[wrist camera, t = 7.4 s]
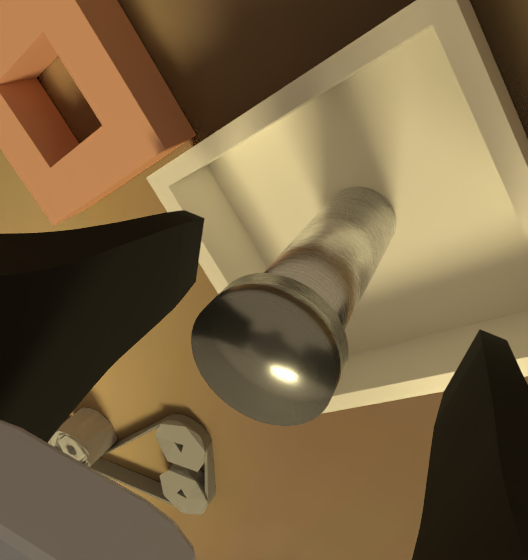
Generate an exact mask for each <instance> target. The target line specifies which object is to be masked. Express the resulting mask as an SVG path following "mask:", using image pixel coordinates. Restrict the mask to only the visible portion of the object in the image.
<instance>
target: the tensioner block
mask: <svg viewBox="0 0 528 560" xmlns="http://www.w3.org/2000/svg"><path fill="white" fill-rule="evenodd" d="M57 56H59V57H60V59H61V61H62V62H63V64H64V65H65V67H66V69H67V70H68V72H69V73H70V75H71V77H72V78H73V80H74V81H75V83H76V84H77V86H78V88H79V89H80V91H81V92H82V94H83V96H84V97H85V99H86V100H87V102H88V104H89V105H90V107H91V108H92V110H93V112H94V113H95V115H96V116H97V118H98V119H99V121H100V123H101V124H102V126H101V127H100V128H99V129H97V130H96V131H95V132H94V133H93V134H91V135H90V136H89V137H88V138H86V139H85V140H84V141H83V142H82V143H80V144H79V142H78V141H77V139H76V138H75V136H74V135H73V133H72V132H71V130H70V128H69V127H68V125H67V124H66V122H65V121H64V119H63V118H62V116H61V115H60V113H59V111H58V110H57V108H56V107H55V105H54V104H53V102H52V101H51V99H50V98H49V96H48V94H47V93H46V91H45V90H44V88H43V87H42V85H41V84H40V82H39V80H38V79H37V77H38V76H39V75H40V74H41V73H42V72H43V71H44V70H45V69H46V68H47V67H48V66H49V65H50V63H51V62H52V61H53V60H54V59H55V58H56V57H57ZM194 136H196V134H195V132H194V130H193V129H192V127H191V125H190V124H189V122H188V120H187V118H186V117H185V115H184V113H183V112H182V110H181V108H180V106H179V105H178V103H177V101H176V100H175V98H174V96H173V95H172V93H171V91H170V89H169V88H168V86H167V84H166V83H165V81H164V79H163V77H162V76H161V74H160V72H159V71H158V69H157V67H156V65H155V64H154V62H153V60H152V59H151V57H150V55H149V53H148V52H147V50H146V48H145V47H144V45H143V43H142V42H141V40H140V38H139V36H138V35H137V33H136V31H135V30H134V28H133V26H132V24H131V23H130V21H129V19H128V18H127V16H126V14H125V12H124V11H123V9H122V7H121V6H120V4H119V2H118V0H0V149H1V151H2V152H3V154H4V155H5V156H6V158H7V159H8V161H9V162H10V164H11V165H12V167H13V168H14V170H15V171H16V172H17V174H18V175H19V177H20V178H21V180H22V181H23V183H24V184H25V186H26V187H27V188H28V190H29V191H30V193H31V194H32V196H33V197H34V199H35V200H36V202H37V203H38V204H39V206H40V207H41V209H42V210H43V212H44V213H45V215H46V216H47V218H48V219H49V220H50V222H51V223H52V225H53V226H54V225H56V224H58V223H60V222H62V221H64V220H66V219H68V218H70V217H72V216H74V215H76V214H78V213H80V212H82V211H84V210H86V209H87V208H89V207H90V206H92V205H93V204H95V203H96V202H98V201H99V200H101V199H102V198H104V197H105V196H107V195H108V194H110V193H111V192H113V191H114V190H116V189H117V188H119V187H120V186H122V185H123V184H125V183H126V182H127V181H129V180H130V179H132V178H133V177H135V176H136V175H138V174H139V173H141V172H142V171H144V170H145V169H147V168H148V167H150V166H151V165H153V164H154V163H156V162H157V161H159V160H160V159H162V158H163V157H165V156H166V155H168V154H169V153H171V152H172V151H174V150H175V149H177V148H178V147H180V146H181V145H182V144H184V143H185V142H187V141H188V140H190V139H191V138H193V137H194Z"/></svg>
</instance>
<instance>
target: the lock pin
mask: <svg viewBox="0 0 528 560" xmlns="http://www.w3.org/2000/svg"><path fill="white" fill-rule="evenodd" d="M395 231H396V216H395V212H394V210H393V208H392V206H391V204H390V203H389V201H388V200H387V199H386V198H385V197H384V196H383V195H381V194H380V193H378V192H377V191H375V190H373V189H370V188H367V187H357V186H356V187H349V188H346V189H343V190H341V191H340V192H338V193H337V194H335V195H334V196H333V197H332V198H331V200H330V201H329V202H328V203H327V204H326V205H325V206H324V207H323V208H322V209H321V210H320V212H319V213H318V214H317V215H316V216H315V217H314V218H313V219H312V220H311V221H310V222H309V224H308V225H307V226H306V227H305V228H304V229H303V230H302V231H301V232H300V233H299V235H298V236H297V237H296V238H295V239H294V240H293V241H292V242H291V243H290V244H289V245H288V247H287V248H286V249H285V250H284V251H283V252H282V253H281V254H280V255H279V256H278V257H277V259H276V260H275V261H274V262H273V263H272V264H271V265H270V266H269V267H268V268H267V269H266V271H265V272H264V273H254V274H248V275H245V276H242V277H240V278H238V279H236V280H234V281H233V282H231V283H230V284H228V285H227V286H226V287H225V288H224V289H223V290H222V291H221V292H220V293H219V294H218V295H217V296H216V297H215V298H214V299H213V300H212V301H211V302H210V303H209V304H208V305H207V306H206V307H205V308H204V309H203V311H202V312H201V313H200V314H199V316H198V317H197V319H196V321H195V323H194V326H193V330H192V336H191V344H192V352H193V356H194V359H195V362H196V365H197V367H198V369H199V371H200V373H201V375H202V376H203V378H204V380H205V381H206V382H207V384H208V385H209V387H210V388H211V389H212V390H213V391H214V392H215V393H216V394H217V395H218V396H219V397H220V398H221V399H222V400H223V401H224V402H225V403H227V404H228V405H229V406H231V407H232V408H234V409H235V410H237V411H238V412H240V413H242V414H243V415H245V416H247V417H250V418H252V419H254V420H257V421H260V422H263V423H267V424H271V425H279V426H292V425H299V424H303V423H306V422H308V421H311V420H313V419H314V418H316V417H317V416H319V415H320V414H321V413H322V412H323V411H324V410H325V409H326V407H327V406H328V404H329V402H330V400H331V398H332V396H333V394H334V392H335V390H336V388H337V385H338V383H339V381H340V379H341V377H342V375H343V373H344V371H345V368H346V365H347V362H348V354H349V350H348V341H347V336H346V333H345V328H346V326H347V324H348V322H349V320H350V318H351V317H352V315H353V313H354V311H355V309H356V307H357V305H358V303H359V301H360V299H361V298H362V296H363V294H364V292H365V290H366V288H367V286H368V284H369V282H370V280H371V278H372V277H373V275H374V273H375V271H376V269H377V267H378V265H379V263H380V261H381V259H382V257H383V256H384V254H385V252H386V250H387V248H388V246H389V244H390V242H391V240H392V238H393V236H394V234H395Z"/></svg>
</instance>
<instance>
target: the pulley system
mask: <svg viewBox="0 0 528 560" xmlns="http://www.w3.org/2000/svg"><path fill="white" fill-rule="evenodd" d="M158 427H159V428H158ZM156 428H158V430H157V432H156V434H155V436H156V438H157V441H158V443H159V445H160V447H161V449H162V451H163V453H164V455H165V457H166V459H167V461H168V462H171V463H174V464H173V465H172V466H171V467H170V468H169V470H168V471H166V472H165V473H163V474H161V475H160V480H161V483H160V482H157V481H155V480H152V479H150V478H148V477H145V476H143V475H140V474H138V473H136V472H133V471H131V470H129V469H126V468H124V467H121V466H119V465H117V464H114V463H112V462H109V461H107V460H105V459H102V458H100V457H101V456H102V455H104V454H106V453H108V452H110V451H112V450H114V449H116V448H118V447H120V446H122V445H124V444H126V443H128V442H130V441H132V440H134V439H136V438H138V437H140V436H142V435H144V434H146V433H148V432H150V431H152V430H154V429H156ZM117 440H118V439H117V436H116V433H115V431H114V428H113V426H112V424H111V423H110V422H109V421H108V420H107V419H106V418H105V417H104V416H103V415H101V414H100V413H99V412H98V411H96V410H94V409H91V408H85V407H83V408H81V409H79V410H78V411H77V412H76V413H75V414H74V415H73V416H71V417H70V418H69V419H68V418H67V419H66V420H65V421H64V422H63V423H62V425H61V426H60V427H59V429H58V430H57V431H56V433H55V434H54V435H53V436H52V438H51V439H50V440H49V442H48V443H49V444H50V445H52V446H54V447H56V448H57V449H59V450H61V451H63V452H64V453H66V454H68V455H69V456H71V457H73V458H75V459H76V460H78V461H80V462H82V463H83V464H85V465H87V466H89V467H90V468H92V469H94V470H96V471H97V472H99V473H101V474H103V475H105V476H107V477H110V478H112V479H114V480H116V481H119V482H121V483H123V484H125V485H128V486H130V487H132V488H135V489H137V490H139V491H141V492H144V493H146V494H148V495H150V496H153V497H155V498H157V499H159V500H162V501H164V502H166V503H169V504H171V505H173V506H175V507H176V508H177V509H178V510H179V511H180V512H181V513H186V514H201V515H203V513H204V511H205V510H206V508H207V507H208V505H209V504H210V502H211V501H212V499H213V498H214V496H215V494H216V485H215V473H214V460H213V448H212V441H211V438H210V435H209V434H208V432H207V431H206V430H205V429H204V428H203V427H202V426H201V425H200V424H199V423H198V422H196V421H195V420H193V419H192V418H190V417H187V416H184V415H181V414H173V415H169V416H167V417H165V418H163V419H161V420H159V421H157V422H156V423H154V424H152V425H150V426H148V427H146V428H144V429H142V430H140V431H138V432H136V433H134V434H132V435H130V436H128V437H126V438H124V439H122V440H120V441H118V442H116V441H117ZM115 442H116V443H115ZM204 460H205V474H204V473H203V472H202V471H201V470H200V468H201V466H202V465H203V463H204Z"/></svg>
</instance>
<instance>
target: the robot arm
mask: <svg viewBox="0 0 528 560" xmlns="http://www.w3.org/2000/svg"><path fill="white" fill-rule="evenodd" d="M204 219H205V218H203V217H200V216H198V215H195V214H193V213H190V212H188V211H185V210H181V211H173V212H167V213H162V214H157V215H152V216H147V217H142V218H137V219H132V220H127V221H122V222H117V223H112V224H105V225H99V226H93V227H87V228H81V229H74V230H65V231H55V232H43V233H20V234H0V560H196V557H195V552H194V549H193V546H192V544H191V543H190V542H189V540H188V539H187V538H186V536H185V535H184V533H183V532H182V531H181V529H180V528H179V527H178V525H177V524H176V523H175V521H173V520H172V519H171V518H170V517H168V516H167V515H166V514H164V513H163V512H162V511H160V510H159V509H158V508H157V507H155V506H154V505H153V504H151V503H150V502H149V501H147V500H146V499H144V498H142V497H141V496H139V495H137V494H135V493H134V492H132V491H130V490H128V489H127V488H125V487H123V486H122V485H120V484H118V483H116V482H115V481H113V480H111V479H109V478H108V477H106V476H104V475H102V474H101V473H99V472H97V471H96V470H94V469H92V468H90V467H89V466H87V465H85V464H83V463H82V462H80V461H78V460H76V459H75V458H73V457H71V456H69V455H68V454H66V453H64V452H63V451H61V450H59V449H57V448H56V447H54V446H52V445H50V444H49V443H48V442H49V440H50V439H51V438H52V436H53V435H54V434H55V433H56V431H57V430H58V429H59V427H60V426H61V425H62V423H63V422H64V421H65V420H66V419H67V417H68V416H69V415H70V414H71V413H72V411H73V410H74V409H75V408H76V406H77V405H78V404H79V403H80V402H81V400H82V399H83V398H84V397H85V396H86V394H87V393H88V392H89V391H90V390H91V389H92V388H93V386H94V385H95V384H96V383H97V382H98V381H99V380H100V378H101V377H102V376H103V375H104V374H105V373H106V372H107V370H108V369H109V368H110V367H111V366H112V365H113V364H114V363H115V362H116V361H117V360H118V359H119V358H120V357H121V356H122V355H124V354H125V353H126V352H127V351H128V350H129V349H130V348H131V347H132V346H133V345H135V344H136V343H137V342H138V341H139V340H140V339H141V338H142V337H143V336H144V335H146V334H147V333H148V332H149V331H150V330H151V329H152V328H153V327H154V326H156V325H157V324H158V323H159V322H160V321H161V320H162V319H163V318H164V317H165V316H166V315H167V314H168V313H169V312H171V311H172V310H173V309H174V308H175V307H176V305H177V304H178V303H179V302H180V301H181V299H182V298H183V297H184V296H185V295H186V293H187V292H188V291H189V289H190V288H191V287H192V286H193V284H194V283H195V282H196V275H197V268H198V261H199V254H200V247H201V240H202V233H203V226H204ZM412 560H528V385H527V383H526V381H525V378H524V376H523V374H522V372H521V370H520V368H519V365H518V363H517V361H516V359H515V356H514V354H513V352H512V350H511V348H510V345H509V343H508V341H507V340H505V339H503V338H500V337H498V336H496V335H493V334H491V333H488V332H486V331H483V330H481V329H479V331H478V333H477V335H476V336H475V338H474V340H473V342H472V343H471V345H470V347H469V349H468V350H467V352H466V354H465V356H464V357H463V359H462V361H461V363H460V364H459V366H458V368H457V370H456V371H455V373H454V375H453V377H452V378H451V380H450V382H449V384H448V385H447V387H446V389H445V390H444V393H443V397H442V400H441V404H440V407H439V411H438V414H437V418H436V422H435V426H434V432H433V438H432V446H431V453H430V461H429V468H428V476H427V484H426V491H425V499H424V507H423V513H422V519H421V524H420V529H419V534H418V538H417V542H416V546H415V550H414V554H413V558H412Z"/></svg>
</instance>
